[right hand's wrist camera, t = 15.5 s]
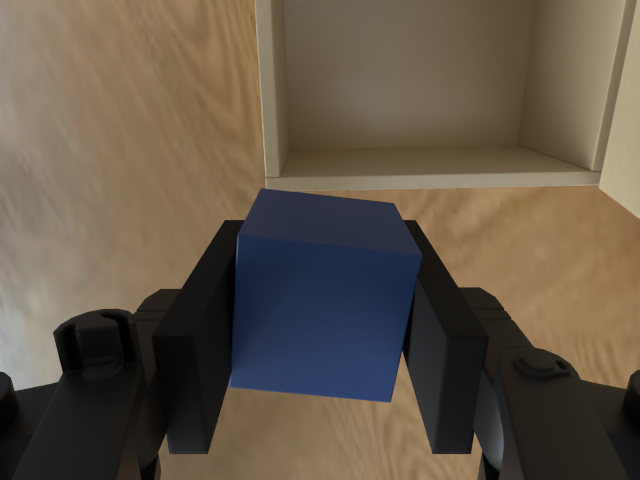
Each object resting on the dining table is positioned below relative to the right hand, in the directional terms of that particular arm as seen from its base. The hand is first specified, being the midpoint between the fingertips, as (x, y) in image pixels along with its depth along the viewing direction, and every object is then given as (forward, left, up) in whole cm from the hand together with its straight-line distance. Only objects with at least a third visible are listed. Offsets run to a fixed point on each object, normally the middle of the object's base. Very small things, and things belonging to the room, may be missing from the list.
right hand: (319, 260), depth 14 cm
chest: (+5, +7, -17) cm, 19 cm away
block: (0, 0, 0) cm, 0 cm away
